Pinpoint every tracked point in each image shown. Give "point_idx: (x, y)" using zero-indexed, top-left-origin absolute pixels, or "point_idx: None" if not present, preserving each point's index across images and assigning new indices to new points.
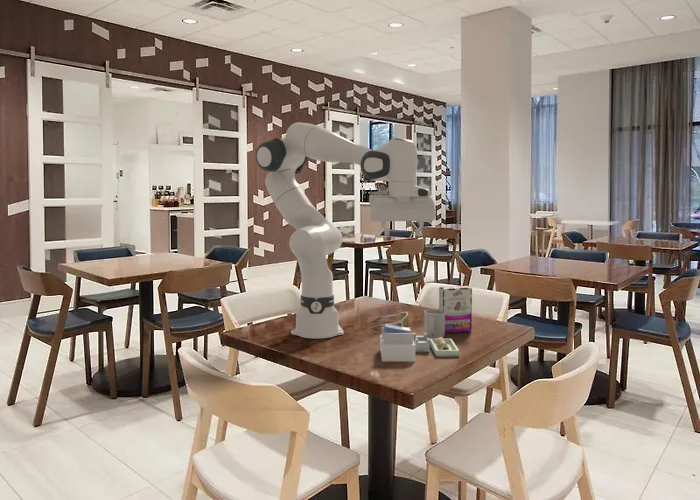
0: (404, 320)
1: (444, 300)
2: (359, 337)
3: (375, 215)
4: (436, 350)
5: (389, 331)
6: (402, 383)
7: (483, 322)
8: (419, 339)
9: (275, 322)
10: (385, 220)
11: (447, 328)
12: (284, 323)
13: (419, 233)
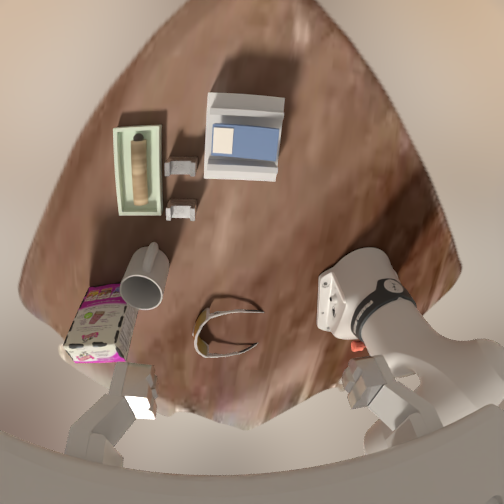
0: (202, 320)
1: (117, 324)
2: (295, 258)
3: (501, 435)
4: (158, 126)
5: (267, 127)
6: None
7: None
8: (183, 203)
9: None
10: (434, 435)
11: None
12: None
13: (117, 372)
